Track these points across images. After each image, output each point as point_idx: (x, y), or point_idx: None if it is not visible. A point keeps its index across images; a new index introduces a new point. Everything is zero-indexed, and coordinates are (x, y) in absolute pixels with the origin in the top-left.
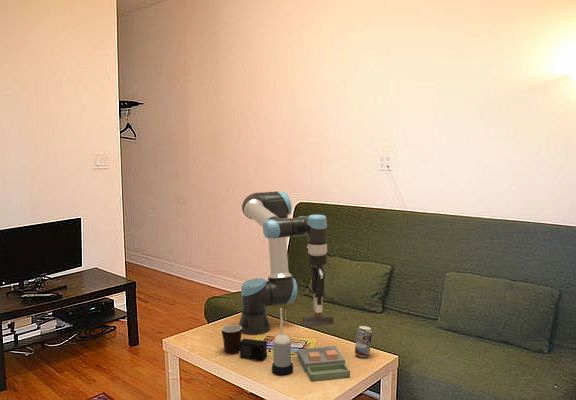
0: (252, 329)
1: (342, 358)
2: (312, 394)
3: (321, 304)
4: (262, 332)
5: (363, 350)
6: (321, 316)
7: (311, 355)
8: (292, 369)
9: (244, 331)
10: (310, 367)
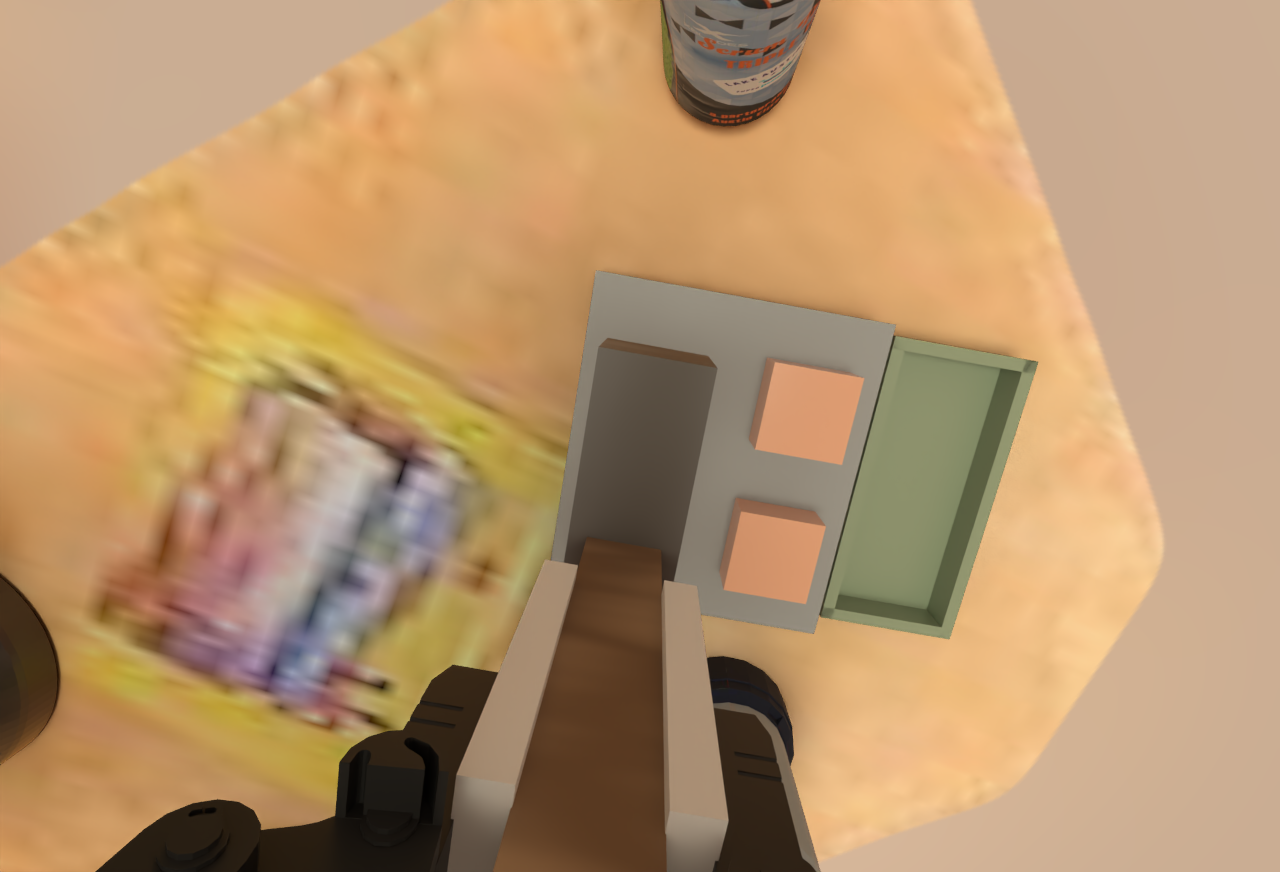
0: (14, 730)
1: (862, 333)
2: (1081, 672)
3: (702, 684)
4: (39, 639)
5: (798, 60)
6: (608, 519)
7: (789, 589)
8: (768, 685)
9: (7, 759)
10: (836, 594)
